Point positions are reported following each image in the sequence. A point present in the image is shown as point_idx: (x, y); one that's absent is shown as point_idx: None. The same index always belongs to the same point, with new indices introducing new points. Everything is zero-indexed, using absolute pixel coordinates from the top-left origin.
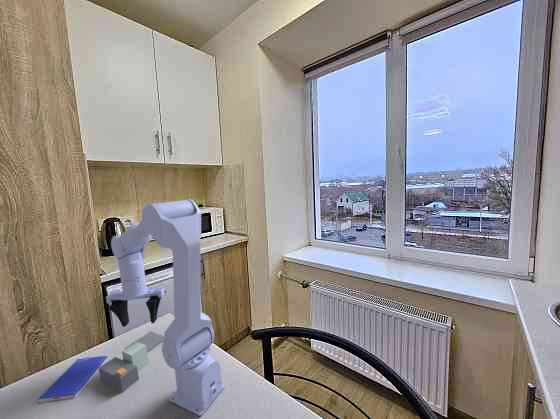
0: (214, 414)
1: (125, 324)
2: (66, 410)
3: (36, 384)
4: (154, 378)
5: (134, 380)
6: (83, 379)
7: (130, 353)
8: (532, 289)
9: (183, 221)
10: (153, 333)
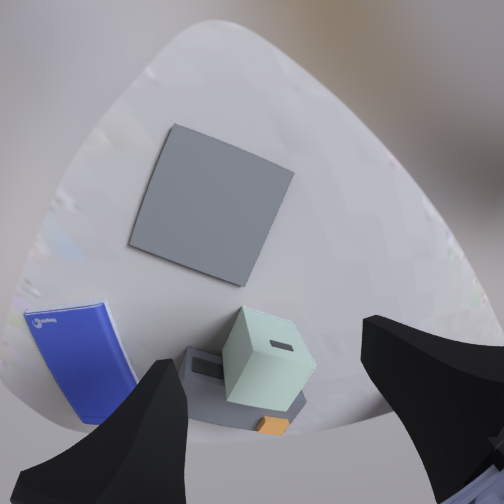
0: None
1: (185, 402)
2: None
3: (22, 372)
4: (338, 365)
5: None
6: (128, 393)
7: (274, 405)
8: None
9: None
10: (203, 139)
